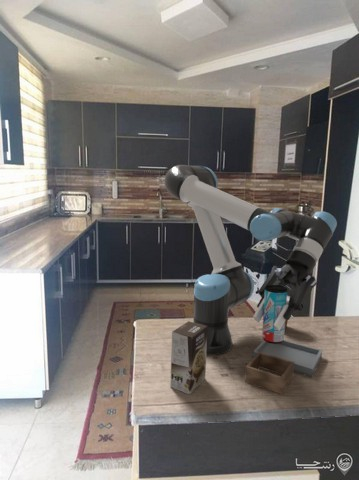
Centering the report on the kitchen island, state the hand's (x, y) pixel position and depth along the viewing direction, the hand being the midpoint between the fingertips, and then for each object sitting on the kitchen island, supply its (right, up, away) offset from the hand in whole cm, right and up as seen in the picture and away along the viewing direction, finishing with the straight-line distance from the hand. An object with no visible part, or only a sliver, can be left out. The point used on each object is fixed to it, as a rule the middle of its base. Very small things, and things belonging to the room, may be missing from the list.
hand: (266, 323), depth 95 cm
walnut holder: (+2, -17, +5) cm, 18 cm away
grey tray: (+11, -15, +17) cm, 26 cm away
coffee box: (-21, -17, +2) cm, 27 cm away
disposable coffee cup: (+15, -11, +41) cm, 45 cm away
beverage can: (+3, -6, +3) cm, 7 cm away
